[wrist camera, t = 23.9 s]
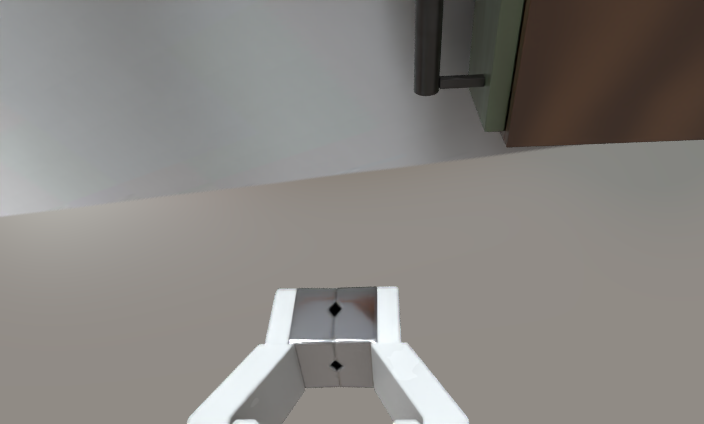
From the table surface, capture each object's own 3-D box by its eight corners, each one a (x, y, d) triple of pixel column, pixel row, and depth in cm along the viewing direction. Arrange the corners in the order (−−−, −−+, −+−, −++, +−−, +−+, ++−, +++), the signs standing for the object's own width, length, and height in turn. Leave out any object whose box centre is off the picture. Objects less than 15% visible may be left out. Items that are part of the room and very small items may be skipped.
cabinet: (480, 87, 34) (506, 147, 28) (504, -118, 27) (547, -100, 20) (685, 77, 33) (761, 137, 27) (772, -139, 26) (908, -127, 19)
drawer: (408, 88, 34) (415, 135, 29) (410, -97, 27) (419, -78, 22) (662, 75, 33) (717, 122, 27) (734, -121, 26) (826, -108, 20)
